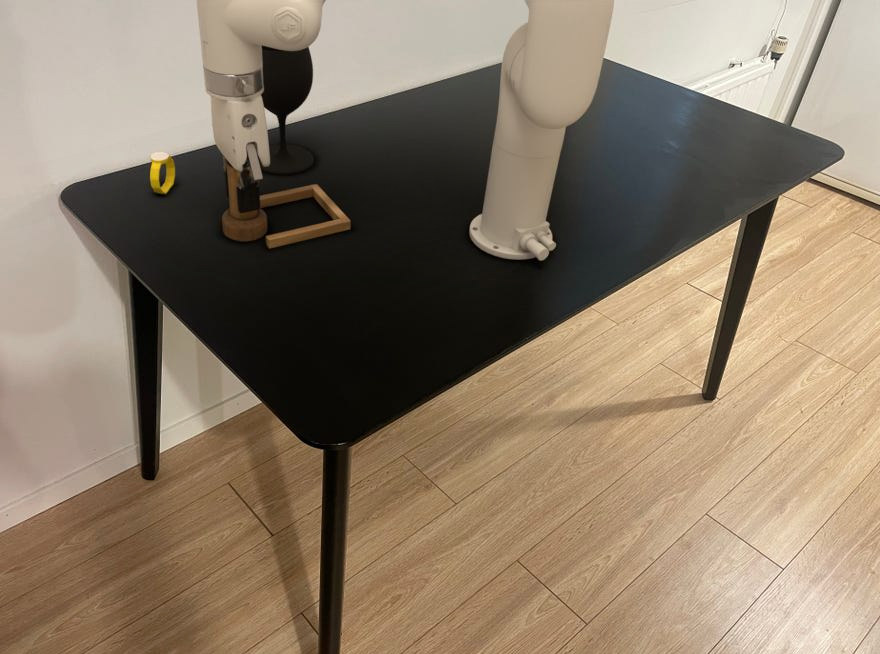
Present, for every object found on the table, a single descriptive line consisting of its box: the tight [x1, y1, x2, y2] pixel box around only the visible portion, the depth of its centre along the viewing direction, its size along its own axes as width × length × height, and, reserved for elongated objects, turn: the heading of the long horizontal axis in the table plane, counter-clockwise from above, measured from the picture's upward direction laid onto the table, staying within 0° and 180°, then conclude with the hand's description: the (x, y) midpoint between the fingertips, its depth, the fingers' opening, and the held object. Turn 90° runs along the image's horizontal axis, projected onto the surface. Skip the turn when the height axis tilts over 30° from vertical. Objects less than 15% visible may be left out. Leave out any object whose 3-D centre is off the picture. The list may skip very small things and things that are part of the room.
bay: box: [260, 183, 352, 249], centre depth 119 cm, size 12×13×2 cm
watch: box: [149, 151, 176, 195], centre depth 121 cm, size 6×3×6 cm, turn 169°
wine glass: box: [259, 46, 315, 176], centre depth 126 cm, size 10×10×20 cm
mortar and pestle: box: [221, 160, 268, 243], centre depth 110 cm, size 7×6×18 cm
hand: (243, 201), depth 113 cm, fingers closed on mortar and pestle, 3 cm apart
